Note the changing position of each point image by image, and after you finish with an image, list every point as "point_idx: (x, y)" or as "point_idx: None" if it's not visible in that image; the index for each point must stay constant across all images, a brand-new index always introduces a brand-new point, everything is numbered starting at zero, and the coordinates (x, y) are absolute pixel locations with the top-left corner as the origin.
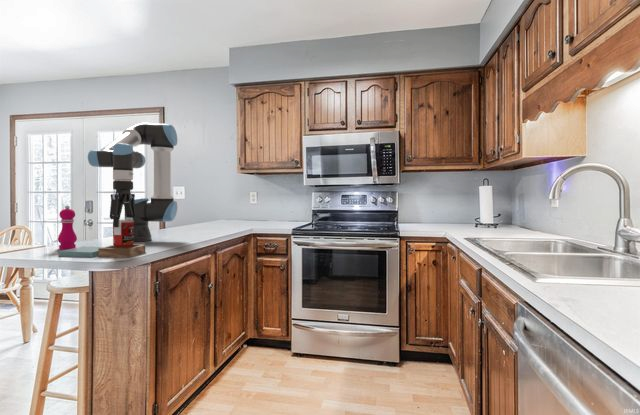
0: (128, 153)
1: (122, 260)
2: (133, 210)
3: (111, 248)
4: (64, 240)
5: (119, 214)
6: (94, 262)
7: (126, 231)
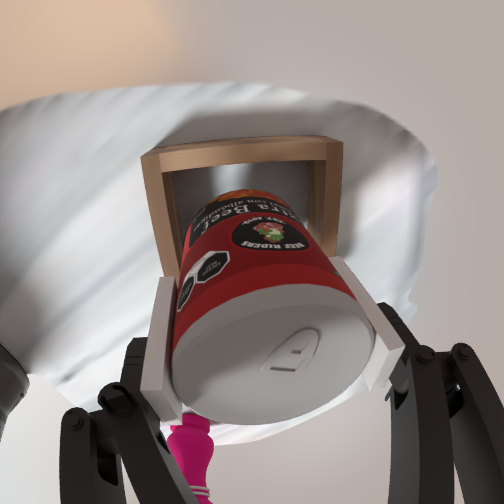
0: None
1: (388, 128)
2: (95, 475)
3: (333, 244)
4: (210, 440)
5: (433, 391)
6: (423, 209)
7: (317, 244)
